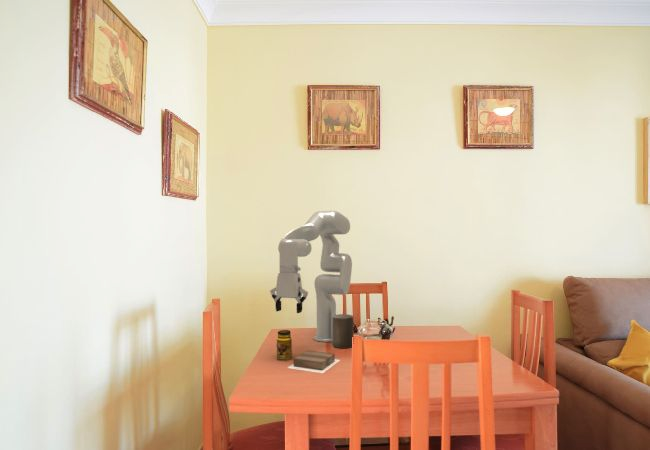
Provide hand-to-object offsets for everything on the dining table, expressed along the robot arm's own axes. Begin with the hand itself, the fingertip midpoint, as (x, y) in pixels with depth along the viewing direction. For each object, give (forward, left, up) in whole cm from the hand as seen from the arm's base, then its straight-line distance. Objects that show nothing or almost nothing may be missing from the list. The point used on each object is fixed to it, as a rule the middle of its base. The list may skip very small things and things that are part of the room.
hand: (288, 311), depth 167 cm
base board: (+2, +13, -20) cm, 24 cm away
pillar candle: (-29, +12, -20) cm, 37 cm away
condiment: (0, -2, -20) cm, 20 cm away
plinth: (+2, +13, -19) cm, 23 cm away
